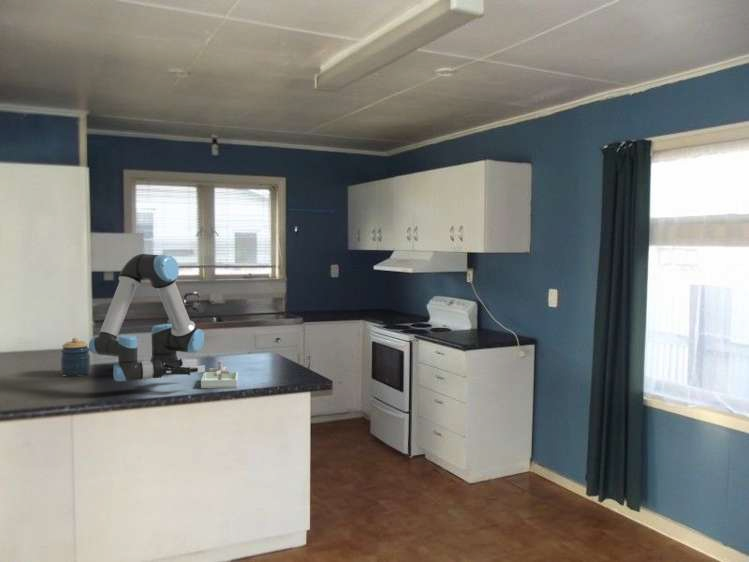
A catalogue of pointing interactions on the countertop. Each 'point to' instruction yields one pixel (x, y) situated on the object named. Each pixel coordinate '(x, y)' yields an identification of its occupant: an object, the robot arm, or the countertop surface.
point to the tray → (213, 382)
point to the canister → (75, 358)
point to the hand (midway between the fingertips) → (200, 365)
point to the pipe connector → (220, 370)
